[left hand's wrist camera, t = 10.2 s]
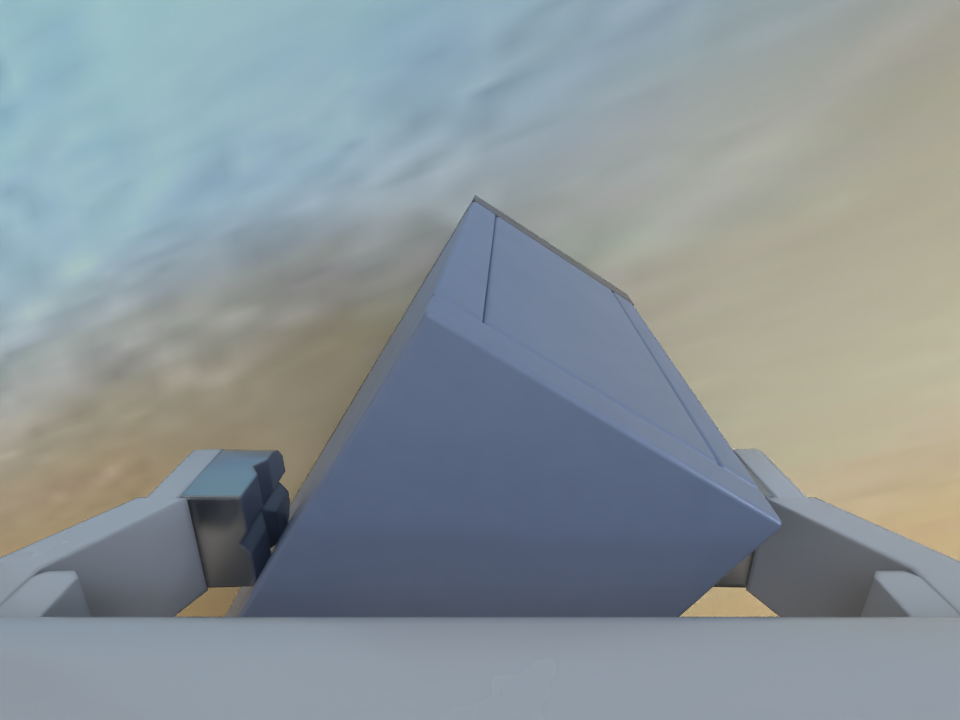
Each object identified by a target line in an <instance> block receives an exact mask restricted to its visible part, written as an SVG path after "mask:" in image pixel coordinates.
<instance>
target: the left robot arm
mask: <svg viewBox="0 0 960 720" xmlns="http://www.w3.org/2000/svg"><path fill="white" fill-rule="evenodd" d="M733 451H734V453H735V454H736V455H737V457H738V458H739V460H740V461H741V463H742V464H743V466H744V467H745V469H746V470H747V471H748V473H749V474H750V476H751V477H752V479H753V480H754V482H755V483H756V485H757V486H758V490H760V491H761V492H762V494H763V495H764V497H765V498H766V499H767V501H768V502H769V504H770V505H771V507H772V508H773V510H774V511H775V513H776V514H777V515H778V517H779V518H780V520H781V522H782V525H781V527H780V528H779V529H778V530H777V531H776V532H775V533H773V534H772V535H771V536H770V537H769V538H768V539H767V540H765V541H764V542H763V543H762V544H761V545H760V546H759V547H758V548H756V549H755V550H754V551H753V552H752V553H751V554H750V555H748V556H747V557H746V558H745V559H744V560H743V561H742V562H741V563H739V564H738V565H737V566H736V567H735V568H734V569H733V570H731V571H730V572H729V573H728V574H727V575H726V576H725V577H723V578H722V579H721V580H720V581H719V582H718V583H717V584H716V585H714V586H713V587H743V588H746V590H747V591H748V592H750V593H751V594H752V595H753V596H755V597H756V598H757V599H758V600H760V601H761V602H762V603H763V604H765V605H766V606H767V607H768V608H770V609H771V610H772V611H773V612H775V613H776V614H777V615H778V616H780V617H174V616H175V615H177V614H178V613H179V612H181V611H182V610H183V609H184V608H186V607H187V606H188V605H189V604H191V603H192V602H193V601H194V600H196V599H197V598H198V597H200V596H201V595H202V594H203V593H205V592H206V591H207V590H208V589H207V588H211V587H246V586H254V584H255V583H256V581H257V579H258V577H259V575H260V574H261V572H262V570H263V568H264V566H265V564H266V562H267V561H268V559H269V557H270V555H271V550H270V548H272V547H273V546H275V545H276V544H277V542H278V540H279V538H280V537H281V535H282V533H283V531H284V529H285V527H286V526H287V524H288V520H289V516H290V501H289V493H288V491H287V490H286V489H285V487H284V486H283V485H282V484H281V483H280V482H279V480H280V479H281V477H282V475H283V474H284V472H285V468H284V462H283V457H282V455H281V454H280V452H279V451H278V450H230V449H227V450H224V449H200V450H194V451H193V452H192V453H191V454H190V455H189V456H188V457H187V458H186V459H185V460H184V461H183V462H182V463H181V464H180V465H179V466H178V467H177V468H176V469H175V470H174V471H173V472H172V473H171V474H170V475H169V476H168V477H167V478H166V479H165V480H164V481H163V482H162V483H161V484H160V485H159V486H158V487H157V488H156V489H155V490H154V491H153V492H152V493H151V494H150V495H149V496H148V497H147V498H136V499H134V500H131V501H129V502H127V503H125V504H122V505H120V506H118V507H115V508H113V509H111V510H109V511H106V512H104V513H102V514H99V515H97V516H95V517H93V518H90V519H88V520H86V521H83V522H81V523H79V524H77V525H74V526H72V527H70V528H67V529H65V530H63V531H61V532H58V533H56V534H54V535H51V536H49V537H47V538H45V539H42V540H40V541H38V542H35V543H33V544H31V545H29V546H26V547H24V548H22V549H19V550H17V551H15V552H13V553H10V554H8V555H6V556H3V557H1V558H0V720H960V561H957V560H955V559H953V558H951V557H948V556H946V555H944V554H942V553H939V552H937V551H935V550H933V549H930V548H928V547H926V546H924V545H921V544H919V543H917V542H915V541H912V540H910V539H908V538H905V537H903V536H901V535H899V534H896V533H894V532H892V531H890V530H887V529H885V528H883V527H881V526H878V525H876V524H874V523H872V522H869V521H867V520H865V519H863V518H860V517H858V516H856V515H854V514H851V513H849V512H847V511H844V510H842V509H840V508H838V507H835V506H833V505H831V504H829V503H826V502H824V501H822V500H820V499H817V498H807V497H806V496H805V495H804V494H803V493H802V492H801V491H800V490H799V489H798V488H797V487H796V486H795V485H794V484H793V483H792V482H791V481H790V480H789V479H788V478H787V477H786V476H785V475H784V474H783V473H782V472H781V471H780V470H779V469H778V468H777V467H776V466H775V465H774V464H773V462H772V461H771V460H770V459H769V458H768V457H767V456H766V455H765V454H764V453H763V452H762V451H760V450H757V449H737V450H733Z"/></svg>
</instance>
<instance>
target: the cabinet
mask: <svg viewBox="0 0 960 720" xmlns="http://www.w3.org/2000/svg"><path fill="white" fill-rule="evenodd" d="M633 305H634V304H633V302H632V301H631V300H630V298H629V297H628V295H627V294H626V293H624V292H622V291H621V290H619V289H618V288H616V287H615V286H613V285H612V284H610V283H609V282H607V281H606V280H604V279H603V278H601V277H600V276H598V275H597V274H595V273H593V272H592V271H590V270H589V269H587V268H586V267H584V266H583V265H581V264H580V263H578V262H577V261H575V260H574V259H572V258H571V257H569V256H567V255H566V254H564V253H563V252H561V251H560V250H558V249H557V248H555V247H554V246H552V245H551V244H549V243H548V242H546V241H545V240H543V239H541V238H540V237H538V236H537V235H535V234H534V233H532V232H531V231H529V230H528V229H526V228H525V227H523V226H522V225H520V224H519V223H517V222H516V221H514V220H512V219H511V218H509V217H508V216H506V215H505V214H503V213H502V212H500V211H499V210H497V209H496V208H494V207H493V206H491V205H490V204H488V203H486V202H485V201H483V200H482V199H480V198H479V197H477V196H476V195H475V197H474V198H473V200H472V202H471V203H470V205H469V207H468V208H467V210H466V212H465V213H464V215H463V217H462V218H461V220H460V222H459V223H458V225H457V227H456V228H455V230H454V232H453V233H452V235H451V237H450V239H449V240H448V242H447V244H446V245H445V247H444V249H443V250H442V252H441V254H440V255H439V257H438V259H437V260H436V262H435V264H434V265H433V267H432V269H431V270H430V272H429V274H428V275H427V277H426V279H425V280H424V282H423V284H422V285H421V287H420V289H419V290H418V292H417V294H416V295H415V297H414V299H413V300H412V302H411V304H410V305H409V307H408V309H407V310H406V312H405V314H404V315H403V317H402V319H401V320H400V322H399V324H398V325H397V327H396V329H395V330H394V332H393V334H392V335H391V337H390V339H389V340H388V342H387V344H386V345H385V347H384V349H383V350H382V352H381V354H380V355H379V357H378V359H377V360H376V362H375V364H374V365H373V367H372V369H371V370H370V372H369V374H368V376H367V377H366V379H365V381H364V382H363V384H362V386H361V387H360V389H359V391H358V392H357V394H356V396H355V397H354V399H353V401H352V402H351V404H350V406H349V407H348V409H347V411H346V412H345V414H344V416H343V417H342V419H341V421H340V422H339V424H338V426H337V427H336V429H335V431H334V432H333V434H332V436H331V437H330V439H329V441H328V442H327V444H326V446H325V447H324V449H323V451H322V452H321V454H320V456H319V457H318V459H317V461H316V462H315V464H314V466H313V467H312V469H311V471H310V472H309V474H308V476H307V477H306V479H305V481H304V482H303V484H302V486H301V487H300V489H299V491H298V492H297V494H296V496H295V497H294V499H293V501H292V502H291V504H290V516H289V520H288V524H287V526H286V527H285V529H284V531H283V533H282V535H281V537H280V538H279V540H278V542H277V544H276V545H275V546H273V547H272V548H270V550H271V555H270V557H269V559H268V561H267V562H266V564H265V566H264V568H263V570H262V572H261V574H260V575H259V577H258V579H257V581H256V583H255V584H254V586H246V587H241V588H240V590H239V592H238V594H237V596H236V598H235V599H234V601H233V603H232V605H231V606H230V608H229V610H228V612H227V613H226V615H225V617H679V616H680V615H681V614H683V613H684V612H685V611H686V610H687V609H688V608H689V607H691V606H692V605H693V604H694V603H695V602H696V601H697V600H698V599H700V598H701V597H702V596H703V595H704V594H705V593H706V592H708V591H709V590H710V589H711V588H712V587H713V586H714V585H716V584H717V583H718V582H719V581H720V580H721V579H722V578H723V577H725V576H726V575H727V574H728V573H729V572H730V571H731V570H733V569H734V568H735V567H736V566H737V565H738V564H739V563H741V562H742V561H743V560H744V559H745V558H746V557H747V556H748V555H750V554H751V553H752V552H753V551H754V550H755V549H756V548H758V547H759V546H760V545H761V544H762V543H763V542H764V541H765V540H767V539H768V538H769V537H770V536H771V535H772V534H773V533H775V532H776V531H777V530H778V529H779V528H780V527H781V525H782V522H781V520H780V518H779V517H778V515H777V514H776V513H775V511H774V510H773V508H772V507H771V505H770V504H769V502H768V501H767V499H766V498H765V497H764V495H763V494H762V492H761V491H760V490H758V486H757V485H756V483H755V482H754V480H753V479H752V477H751V476H750V474H749V473H748V471H747V470H746V469H745V467H744V466H743V464H742V463H741V461H740V460H739V458H738V457H737V455H736V454H735V453H734V451H733V450H732V448H731V447H730V445H729V444H728V442H727V441H726V439H725V438H724V437H723V435H722V434H721V432H720V431H719V429H718V428H717V426H716V425H715V424H714V422H713V421H712V419H711V418H710V416H709V415H708V413H707V412H706V410H705V409H704V408H703V406H702V405H701V403H700V402H699V400H698V399H697V397H696V396H695V395H694V393H693V392H692V390H691V389H690V387H689V386H688V384H687V383H686V381H685V380H684V379H683V377H682V376H681V374H680V373H679V371H678V370H677V368H676V367H675V365H674V364H673V363H672V361H671V360H670V358H669V357H668V355H667V354H666V352H665V351H664V350H663V348H662V347H661V345H660V344H659V342H658V341H657V339H656V338H655V336H654V335H653V334H652V332H651V331H650V329H649V328H648V326H647V325H646V323H645V322H644V321H643V319H642V318H641V316H640V315H639V313H638V312H637V310H636V309H635V307H634V306H633Z"/></svg>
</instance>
